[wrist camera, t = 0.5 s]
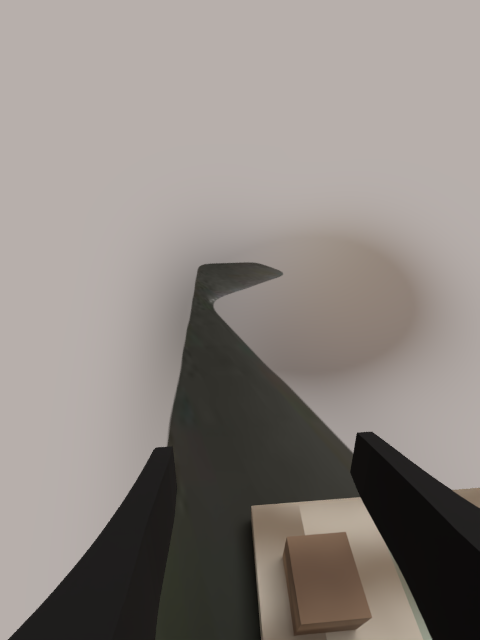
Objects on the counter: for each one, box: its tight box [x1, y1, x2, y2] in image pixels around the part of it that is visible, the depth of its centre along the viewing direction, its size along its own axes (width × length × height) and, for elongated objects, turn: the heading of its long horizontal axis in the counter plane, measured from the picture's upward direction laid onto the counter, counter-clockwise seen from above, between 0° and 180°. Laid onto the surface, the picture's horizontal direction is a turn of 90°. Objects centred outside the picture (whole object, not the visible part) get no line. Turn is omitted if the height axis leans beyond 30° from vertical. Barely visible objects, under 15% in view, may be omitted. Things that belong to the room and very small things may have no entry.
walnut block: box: [283, 532, 372, 636], centre depth 18 cm, size 4×4×4 cm
